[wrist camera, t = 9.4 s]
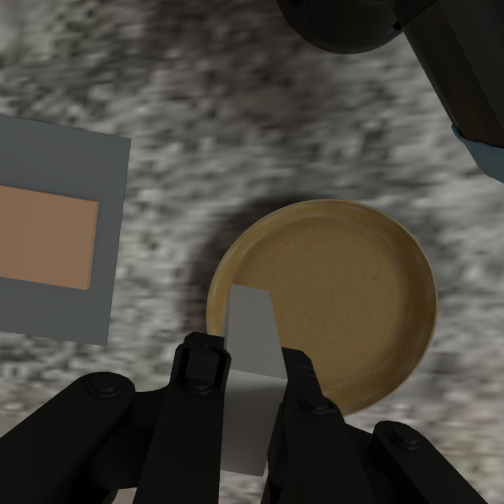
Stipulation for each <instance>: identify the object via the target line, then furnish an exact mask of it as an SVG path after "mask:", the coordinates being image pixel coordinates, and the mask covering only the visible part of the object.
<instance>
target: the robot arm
mask: <svg viewBox="0 0 504 504" xmlns="http://www.w3.org/2000/svg"><path fill="white" fill-rule="evenodd" d="M277 2H278V5H279V7H280V9H281V11H282V13H283V14H284V16H285V18H286V19H287V21H288V22H289V23H290V25H291V26H292V27H293V28H294V29H295V30H296V31H297V32H298V33H299V34H300V35H301V36H302V37H303V38H304V39H306V40H307V41H309V42H310V43H312V44H314V45H315V46H317V47H319V48H322V49H324V50H327V51H331V52H335V53H342V54H356V53H363V52H367V51H371V50H374V49H376V48H379V47H381V46H383V45H385V44H386V43H388V42H390V41H391V40H393V39H394V38H395V37H397V36H398V35H399V34H401V33H402V32H404V34H405V36H406V38H407V40H408V42H409V44H410V45H411V47H412V49H413V51H414V53H415V55H416V57H417V58H418V60H419V62H420V64H421V66H422V68H423V70H424V72H425V73H426V75H427V77H428V79H429V81H430V83H431V85H432V86H433V88H434V90H435V92H436V94H437V96H438V98H439V100H440V101H441V103H442V105H443V107H444V109H445V111H446V113H447V114H448V116H449V118H450V120H451V122H452V130H453V132H454V134H455V135H456V137H457V138H458V139H459V140H460V141H462V142H463V143H464V144H465V145H466V147H467V149H468V150H469V152H470V154H471V155H472V157H473V159H474V160H475V162H476V164H477V165H478V167H479V168H480V169H481V170H482V171H483V172H484V173H485V174H486V175H487V176H489V177H492V178H495V179H496V180H498V181H500V182H501V183H504V0H277ZM267 460H268V471H269V473H268V477H267V481H266V484H265V488H264V492H263V496H262V500H261V503H260V504H488V503H487V502H486V501H485V500H484V499H483V498H482V497H481V496H480V495H479V494H478V493H477V492H476V490H475V489H474V488H473V487H472V486H471V485H470V484H469V483H468V482H467V481H466V480H465V479H464V478H463V477H462V476H461V475H460V474H459V472H458V471H457V470H456V469H455V468H454V467H453V466H452V465H451V464H450V463H449V462H448V461H447V460H446V459H445V458H444V457H443V456H442V454H441V453H440V452H439V451H438V450H437V449H436V448H435V447H434V446H433V445H432V444H431V443H430V442H429V441H428V440H427V439H426V438H425V437H424V436H423V435H422V434H420V433H419V432H418V431H416V430H414V429H413V428H411V427H410V426H408V425H406V424H402V423H400V422H394V421H388V420H387V421H380V422H378V423H377V424H376V425H375V427H374V430H373V433H372V434H371V433H368V432H366V431H363V430H360V429H358V428H355V427H353V426H351V425H348V424H346V423H345V421H344V418H343V416H342V413H341V411H340V409H339V408H338V406H337V405H336V404H335V403H334V402H333V401H331V400H330V399H329V398H327V397H325V396H323V393H322V390H321V387H320V385H319V382H318V379H317V377H316V373H315V370H314V367H313V364H312V361H311V359H310V358H309V357H308V356H307V355H306V354H305V353H304V352H303V351H301V350H296V349H291V348H285V347H281V345H280V340H279V335H278V331H277V326H276V321H275V316H274V312H273V307H272V302H271V297H270V293H269V291H266V290H261V289H256V288H251V287H246V286H241V285H235V284H231V287H230V292H229V297H228V301H227V306H226V311H225V315H224V320H223V324H222V329H221V334H220V336H215V335H210V334H205V333H199V332H192V333H191V334H189V335H188V336H186V337H185V339H184V343H182V344H180V345H179V346H178V347H177V348H176V351H175V356H174V361H173V367H172V372H171V377H170V382H169V384H168V385H167V386H165V387H163V388H161V389H158V390H154V391H147V392H135V386H134V384H133V383H132V381H131V380H130V379H129V378H127V377H124V376H122V375H120V374H116V373H112V372H95V373H90V374H86V375H84V376H82V377H80V378H78V379H76V380H75V381H74V382H73V383H71V384H70V385H69V386H67V387H66V388H65V389H63V390H62V391H61V392H60V393H58V394H57V395H56V396H54V397H53V398H52V399H51V400H49V401H48V402H47V403H45V404H44V405H43V406H41V407H40V408H39V409H38V410H36V411H35V412H34V413H32V414H31V415H30V416H28V417H27V418H26V419H25V420H23V421H22V422H21V423H19V424H18V425H17V426H15V427H14V428H13V429H12V430H11V431H9V432H8V433H6V434H5V435H4V436H3V437H1V438H0V504H111V503H112V502H113V501H114V499H115V497H116V495H117V492H118V489H126V488H135V487H137V490H136V493H135V497H134V500H133V503H132V504H218V498H219V482H220V470H224V471H230V472H237V473H243V474H249V475H255V476H261V477H263V474H264V470H265V466H266V462H267Z"/></svg>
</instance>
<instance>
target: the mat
mask: <svg viewBox="0 0 504 504" xmlns="http://www.w3.org/2000/svg"><path fill="white" fill-rule="evenodd" d="M130 143H131V139H129V138H124V137H119V136H113V135H108V134H102V133H97V132H92V131H86V130H81V129H76V128H70V127H65V126H59V125H54V124H49V123H43V122H38V121H33V120H27V119H22V118H16V117H11V116H6V115H0V184H3V185H9V186H15V187H20V188H26V189H32V190H38V191H43V192H49V193H55V194H61V195H67V196H72V197H78V198H84V199H90V200H96V201H99V204H98V213H97V223H96V232H95V242H94V251H93V260H92V270H91V279H90V287H89V288H88V289H87V290H83V289H77V288H70V287H64V286H57V285H51V284H45V283H38V282H32V281H25V280H19V279H12V278H6V277H0V331H3V332H10V333H17V334H24V335H31V336H38V337H45V338H52V339H59V340H66V341H73V342H80V343H87V344H93V345H100V346H106V345H107V337H108V329H109V320H110V312H111V303H112V295H113V287H114V278H115V270H116V261H117V253H118V244H119V236H120V228H121V219H122V211H123V202H124V194H125V186H126V177H127V169H128V160H129V152H130Z"/></svg>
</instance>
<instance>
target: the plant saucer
mask: <svg viewBox="0 0 504 504" xmlns="http://www.w3.org/2000/svg"><path fill="white" fill-rule="evenodd" d="M231 284H235V285H241V286H246V287H251V288H256V289H261V290H266V291H269V293H270V297H271V302H272V307H273V312H274V316H275V321H276V326H277V331H278V335H279V340H280V345H281V347H285V348H291V349H296V350H301V351H303V352H304V353H305V354H306V355H307V356H308V357H309V358H310V359H311V361H312V364H313V367H314V370H315V373H316V377H317V379H318V382H319V385H320V387H321V390H322V393H323V396H325V397H327V398H329V399H330V400H331V401H333V402H334V403H335V404H336V405H337V406H338V408H339V409H340V411H341V413H342V416H343V417H346V416H350V415H353V414H356V413H359V412H361V411H364V410H366V409H368V408H370V407H372V406H374V405H376V404H378V403H380V402H381V401H383V400H384V399H386V398H387V397H389V396H390V395H392V394H393V393H394V392H395V391H396V390H398V389H399V388H400V387H401V386H402V385H403V384H404V383H405V382H406V381H407V380H408V379H409V377H410V376H411V375H412V374H413V373H414V371H415V370H416V368H417V367H418V366H419V364H420V363H421V361H422V359H423V358H424V356H425V354H426V352H427V350H428V348H429V346H430V343H431V340H432V337H433V334H434V331H435V327H436V321H437V314H438V293H437V286H436V281H435V276H434V273H433V270H432V267H431V264H430V262H429V260H428V257H427V255H426V254H425V252H424V250H423V248H422V247H421V245H420V244H419V243H418V241H417V240H416V239H415V238H414V236H413V235H412V234H411V233H410V232H409V231H408V230H407V229H406V228H405V227H404V226H403V225H402V224H400V223H399V222H398V221H397V220H395V219H394V218H392V217H391V216H389V215H388V214H386V213H384V212H382V211H380V210H378V209H376V208H374V207H371V206H369V205H366V204H363V203H359V202H355V201H350V200H344V199H314V200H308V201H302V202H298V203H295V204H291V205H288V206H286V207H283V208H280V209H278V210H276V211H274V212H272V213H270V214H268V215H266V216H264V217H263V218H261V219H260V220H258V221H257V222H255V223H254V224H253V225H251V226H250V227H249V228H248V229H246V230H245V231H244V232H243V233H242V234H241V235H240V236H239V237H238V238H237V239H236V240H235V241H234V243H233V244H232V245H231V246H230V248H229V249H228V250H227V252H226V253H225V255H224V256H223V258H222V259H221V261H220V263H219V265H218V267H217V269H216V271H215V273H214V276H213V278H212V281H211V285H210V288H209V292H208V297H207V304H206V327H207V334H210V335H215V336H220V334H221V329H222V324H223V320H224V315H225V311H226V306H227V301H228V297H229V292H230V287H231Z"/></svg>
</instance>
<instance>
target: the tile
mask: <svg viewBox="0 0 504 504" xmlns="http://www.w3.org/2000/svg"><path fill="white" fill-rule="evenodd" d="M98 204H99V201H96V200H90V199H84V198H78V197H72V196H67V195H61V194H55V193H49V192H43V191H38V190H32V189H26V188H20V187H15V186H9V185H3V184H0V277H6V278H12V279H19V280H25V281H32V282H38V283H45V284H51V285H57V286H64V287H70V288H77V289H83V290H87V289H88V288H89V287H90V279H91V270H92V260H93V251H94V242H95V232H96V223H97V213H98Z"/></svg>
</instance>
